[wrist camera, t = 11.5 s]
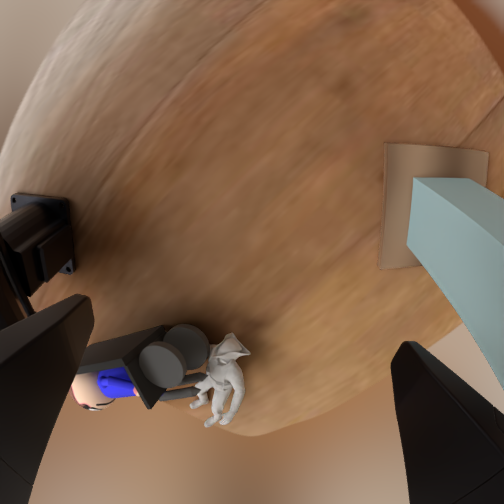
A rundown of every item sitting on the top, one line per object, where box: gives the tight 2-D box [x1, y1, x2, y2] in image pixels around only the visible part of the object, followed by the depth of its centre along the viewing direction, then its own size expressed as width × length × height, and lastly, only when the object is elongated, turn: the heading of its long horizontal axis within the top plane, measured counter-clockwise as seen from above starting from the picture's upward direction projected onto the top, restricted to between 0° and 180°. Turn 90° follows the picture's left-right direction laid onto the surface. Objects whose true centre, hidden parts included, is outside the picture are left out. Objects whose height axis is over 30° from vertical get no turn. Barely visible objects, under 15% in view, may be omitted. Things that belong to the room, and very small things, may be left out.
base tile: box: [377, 142, 489, 270], centre depth 19 cm, size 9×9×2 cm
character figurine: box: [69, 324, 210, 410], centre depth 22 cm, size 8×7×15 cm
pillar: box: [406, 177, 504, 390], centre depth 12 cm, size 5×5×14 cm
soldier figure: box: [190, 333, 251, 427], centre depth 25 cm, size 8×5×12 cm
